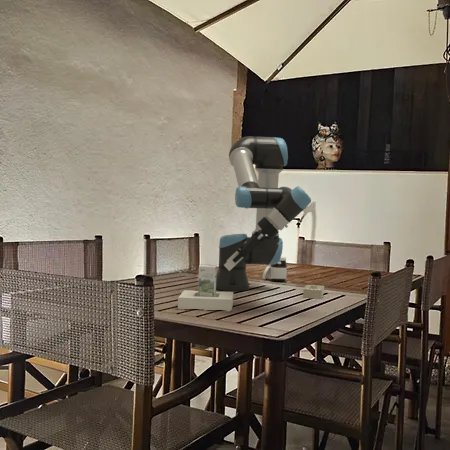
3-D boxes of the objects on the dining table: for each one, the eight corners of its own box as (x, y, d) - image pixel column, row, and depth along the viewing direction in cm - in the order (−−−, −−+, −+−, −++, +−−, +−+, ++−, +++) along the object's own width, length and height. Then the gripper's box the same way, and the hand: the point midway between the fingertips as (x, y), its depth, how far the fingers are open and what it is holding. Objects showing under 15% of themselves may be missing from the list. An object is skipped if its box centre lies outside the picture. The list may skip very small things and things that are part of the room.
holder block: (177, 309, 183) (178, 297, 183) (183, 301, 199) (184, 290, 199) (231, 311, 182) (231, 299, 182) (233, 303, 198) (233, 292, 198)
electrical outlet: (324, 283, 231) (321, 289, 214) (324, 293, 231) (321, 300, 214) (307, 282, 233) (303, 288, 215) (307, 292, 233) (303, 298, 215)
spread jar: (287, 283, 256) (288, 258, 256) (263, 282, 256) (263, 257, 256) (284, 279, 268) (285, 256, 268) (261, 278, 268) (262, 255, 268)
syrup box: (215, 305, 193) (217, 264, 192) (213, 308, 187) (215, 266, 187) (199, 304, 194) (201, 263, 193) (197, 307, 188) (198, 265, 187)
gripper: (281, 233, 175) (233, 278, 177) (278, 229, 200) (236, 269, 201) (265, 216, 175) (217, 261, 177) (264, 215, 200) (223, 254, 202)
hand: (227, 265), depth 189 cm, fingers open, 13 cm apart
